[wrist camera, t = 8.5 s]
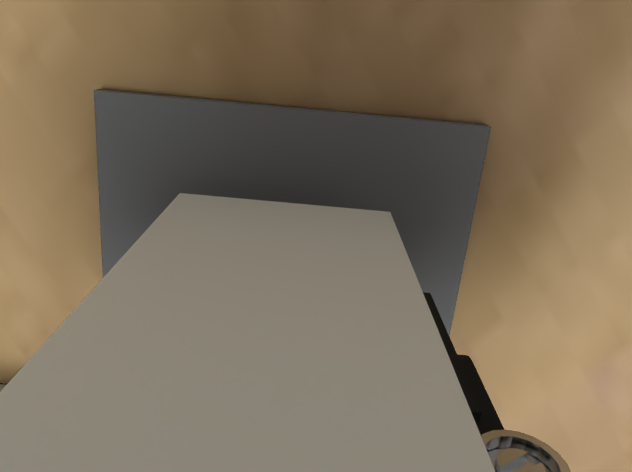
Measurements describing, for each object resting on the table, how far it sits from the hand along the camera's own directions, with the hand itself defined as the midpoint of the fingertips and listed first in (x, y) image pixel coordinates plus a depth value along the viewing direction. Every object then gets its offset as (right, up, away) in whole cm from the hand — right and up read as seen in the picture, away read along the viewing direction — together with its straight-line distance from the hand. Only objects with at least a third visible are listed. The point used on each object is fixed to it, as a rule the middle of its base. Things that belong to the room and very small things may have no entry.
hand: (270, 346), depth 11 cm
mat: (0, +1, +4) cm, 4 cm away
